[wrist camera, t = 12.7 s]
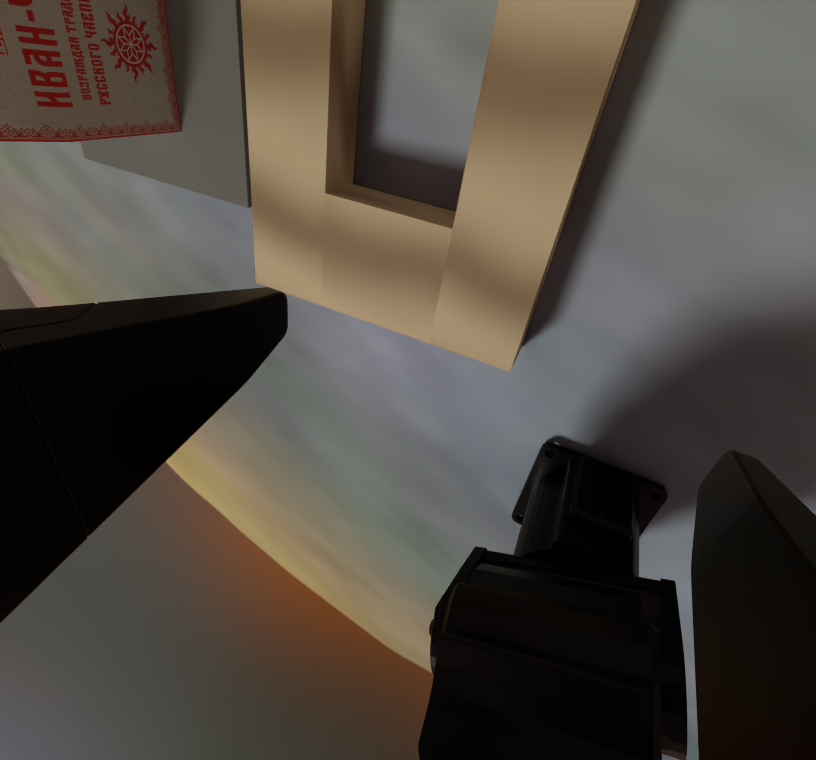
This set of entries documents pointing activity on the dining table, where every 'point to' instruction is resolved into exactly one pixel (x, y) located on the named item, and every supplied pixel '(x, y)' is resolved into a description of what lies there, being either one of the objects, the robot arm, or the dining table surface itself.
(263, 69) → the holder
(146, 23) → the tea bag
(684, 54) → the dining table surface
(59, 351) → the robot arm
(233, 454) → the dining table surface
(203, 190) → the mat
